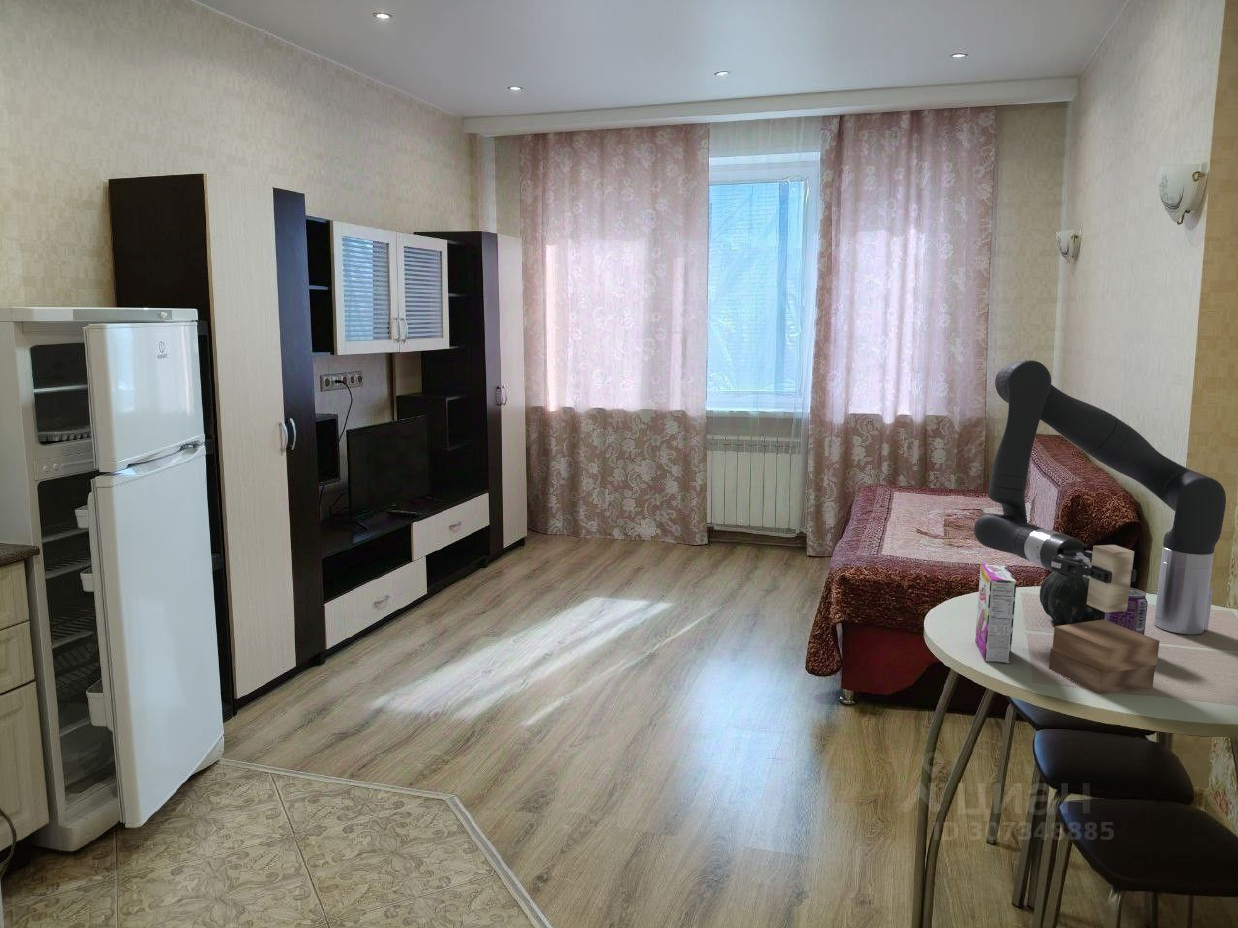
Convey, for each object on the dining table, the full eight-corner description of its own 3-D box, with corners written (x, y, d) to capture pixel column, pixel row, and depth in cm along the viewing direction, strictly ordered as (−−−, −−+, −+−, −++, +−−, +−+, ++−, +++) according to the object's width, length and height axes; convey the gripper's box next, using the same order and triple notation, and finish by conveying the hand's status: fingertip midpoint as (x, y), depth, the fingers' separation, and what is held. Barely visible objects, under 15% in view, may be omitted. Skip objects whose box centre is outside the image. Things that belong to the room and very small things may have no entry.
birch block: (1107, 602, 171) (1114, 544, 169) (1126, 610, 167) (1134, 551, 165) (1086, 604, 170) (1093, 545, 168) (1105, 612, 166) (1112, 552, 164)
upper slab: (1100, 642, 177) (1103, 619, 177) (1156, 664, 166) (1159, 640, 166) (1052, 649, 173) (1054, 626, 172) (1106, 673, 162) (1109, 648, 161)
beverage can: (1138, 645, 187) (1145, 588, 185) (1145, 658, 181) (1152, 598, 179) (1099, 641, 190) (1105, 584, 188) (1104, 653, 183) (1111, 594, 181)
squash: (1107, 589, 206) (1067, 540, 204) (1143, 614, 192) (1100, 561, 189) (1054, 628, 208) (1014, 580, 206) (1085, 656, 194) (1043, 604, 192)
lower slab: (1100, 664, 178) (1102, 642, 177) (1152, 689, 167) (1155, 665, 166) (1048, 671, 175) (1050, 648, 174) (1098, 696, 163) (1100, 672, 163)
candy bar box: (973, 641, 188) (979, 563, 185) (999, 644, 187) (1006, 564, 184) (982, 662, 177) (990, 578, 174) (1010, 664, 176) (1018, 580, 173)
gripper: (1025, 534, 179) (1091, 558, 162) (1088, 531, 182) (1158, 554, 166) (1021, 572, 180) (1086, 599, 164) (1083, 568, 184) (1153, 595, 167)
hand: (1122, 577), depth 165 cm, fingers closed on birch block, 4 cm apart
